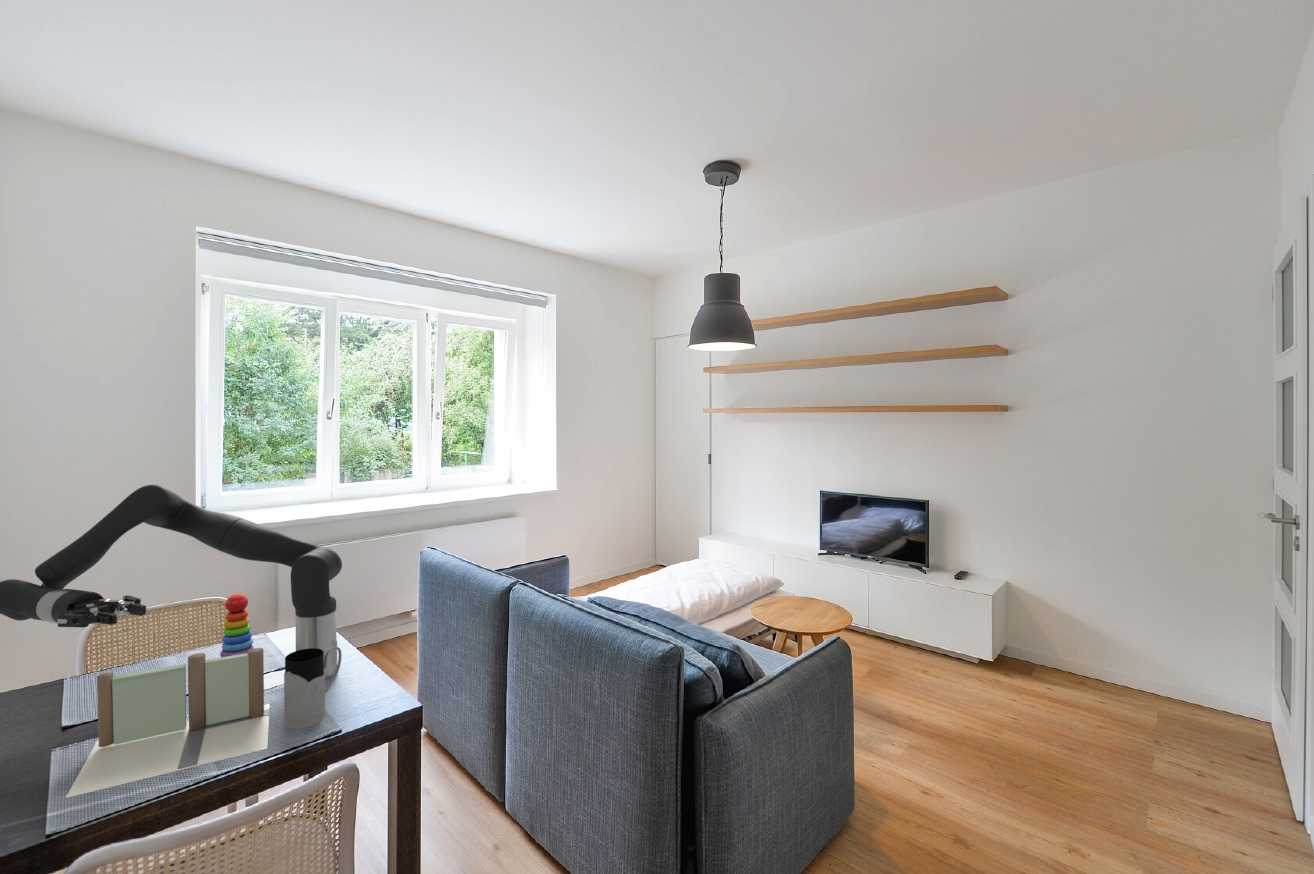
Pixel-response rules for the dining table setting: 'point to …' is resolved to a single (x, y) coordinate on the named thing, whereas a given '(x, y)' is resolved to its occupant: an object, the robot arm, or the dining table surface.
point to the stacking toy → (236, 627)
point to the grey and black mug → (306, 687)
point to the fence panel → (141, 704)
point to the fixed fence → (225, 688)
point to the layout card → (170, 753)
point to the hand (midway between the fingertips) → (129, 614)
